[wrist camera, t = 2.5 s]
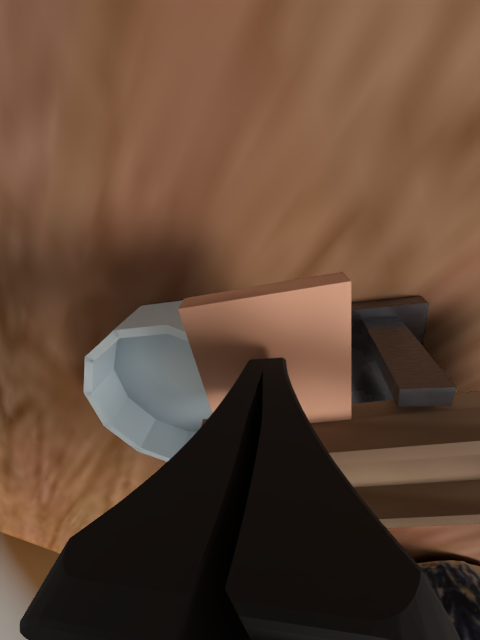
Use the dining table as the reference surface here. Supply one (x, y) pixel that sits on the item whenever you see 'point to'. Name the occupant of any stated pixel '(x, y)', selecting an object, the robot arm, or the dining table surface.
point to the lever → (343, 398)
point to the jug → (457, 593)
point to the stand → (395, 355)
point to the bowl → (148, 382)
